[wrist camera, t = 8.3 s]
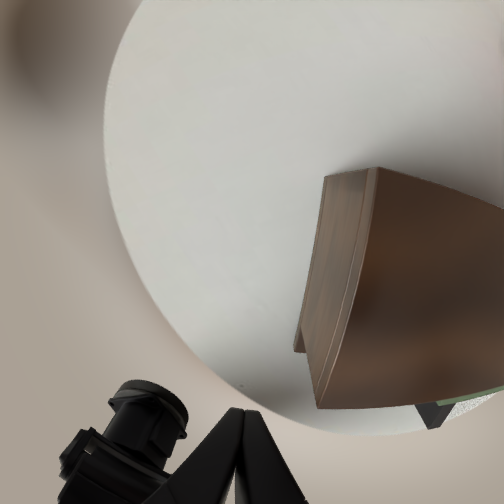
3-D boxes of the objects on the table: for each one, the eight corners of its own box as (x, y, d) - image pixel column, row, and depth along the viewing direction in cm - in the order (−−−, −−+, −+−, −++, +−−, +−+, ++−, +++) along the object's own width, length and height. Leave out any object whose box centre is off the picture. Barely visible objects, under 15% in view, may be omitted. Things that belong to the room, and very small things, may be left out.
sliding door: (460, 374, 18) (492, 413, 12) (391, 380, 19) (420, 433, 12) (474, 345, 18) (511, 381, 11) (406, 347, 18) (443, 398, 12)
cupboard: (466, 348, 19) (515, 400, 10) (292, 345, 20) (304, 438, 11) (503, 225, 16) (574, 247, 7) (324, 176, 17) (377, 166, 8)
